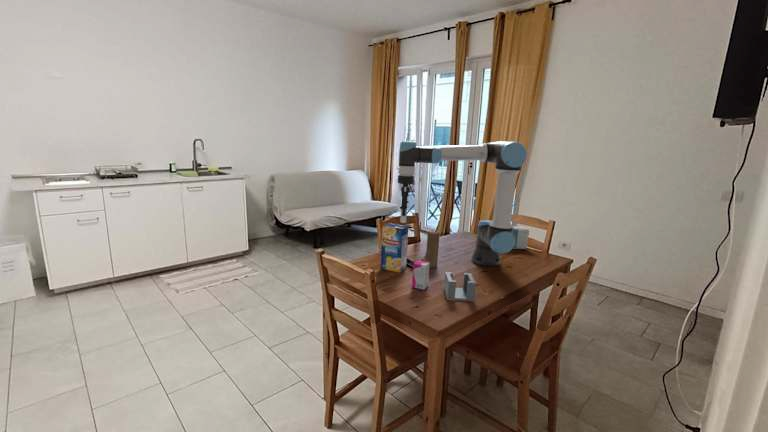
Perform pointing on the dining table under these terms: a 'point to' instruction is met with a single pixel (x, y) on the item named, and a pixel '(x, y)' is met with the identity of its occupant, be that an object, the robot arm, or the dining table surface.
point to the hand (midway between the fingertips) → (403, 219)
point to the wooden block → (432, 249)
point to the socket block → (460, 293)
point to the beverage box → (394, 247)
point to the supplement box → (420, 275)
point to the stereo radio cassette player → (520, 237)
